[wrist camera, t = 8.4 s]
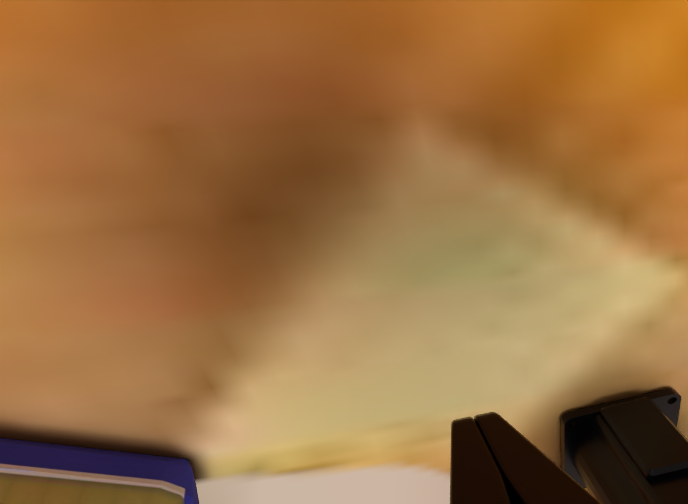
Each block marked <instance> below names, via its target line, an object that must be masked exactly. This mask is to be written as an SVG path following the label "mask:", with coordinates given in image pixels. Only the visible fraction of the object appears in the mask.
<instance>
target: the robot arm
mask: <svg viewBox="0 0 688 504" xmlns="http://www.w3.org/2000/svg"><path fill="white" fill-rule="evenodd" d="M680 403H681V396H680V395H679V394H678V393H677V392H676V391H675V390H674V389H665V390H661V391H657V392H653V393H648V394H644V395H640V396H636V397H632V398H627V399H623V400H619V401H615V402H611V403H606V404H602V405H598V406H594V407H590V408H585V409H581V410H577V411H573V412H569V413H566V414H565V415H563V417H562V418H561V468H560V467H559V466H558V465H556V464H555V463H554V462H553V461H552V460H551V459H550V458H548V457H547V456H546V455H545V454H544V453H543V452H541V451H540V450H539V449H538V448H537V447H536V446H534V445H533V444H532V443H531V442H530V441H529V440H528V439H526V438H525V437H524V436H523V435H522V434H521V433H519V432H518V431H517V430H516V429H515V428H514V427H513V426H511V425H510V424H509V423H508V422H507V421H506V420H504V419H503V418H502V417H501V416H500V415H499V414H497V413H495V412H489V413H484V414H480V415H476V416H475V417H474V419H473V418H472V417H466V418H461V419H457V420H453V421H452V423H451V474H450V504H688V440H687V439H686V438H685V436H684V435H683V434H682V433H681V432H680V431H679V430H678V429H677V421H678V415H679V409H680ZM584 488H587V489H588V491H589V492H588V491H586V490H585V489H584Z"/></svg>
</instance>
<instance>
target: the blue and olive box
mask: <svg viewBox="0 0 688 504" xmlns="http://www.w3.org/2000/svg"><path fill="white" fill-rule="evenodd" d="M0 504H199V500H198V494H197V488H196V483H195V479H194V474H193V470H192V467H191V465H190V463H189V461H188V460H187V459H181V458H172V457H163V456H155V455H146V454H137V453H128V452H119V451H111V450H102V449H93V448H84V447H75V446H67V445H58V444H49V443H40V442H31V441H23V440H14V439H5V438H0Z"/></svg>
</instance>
